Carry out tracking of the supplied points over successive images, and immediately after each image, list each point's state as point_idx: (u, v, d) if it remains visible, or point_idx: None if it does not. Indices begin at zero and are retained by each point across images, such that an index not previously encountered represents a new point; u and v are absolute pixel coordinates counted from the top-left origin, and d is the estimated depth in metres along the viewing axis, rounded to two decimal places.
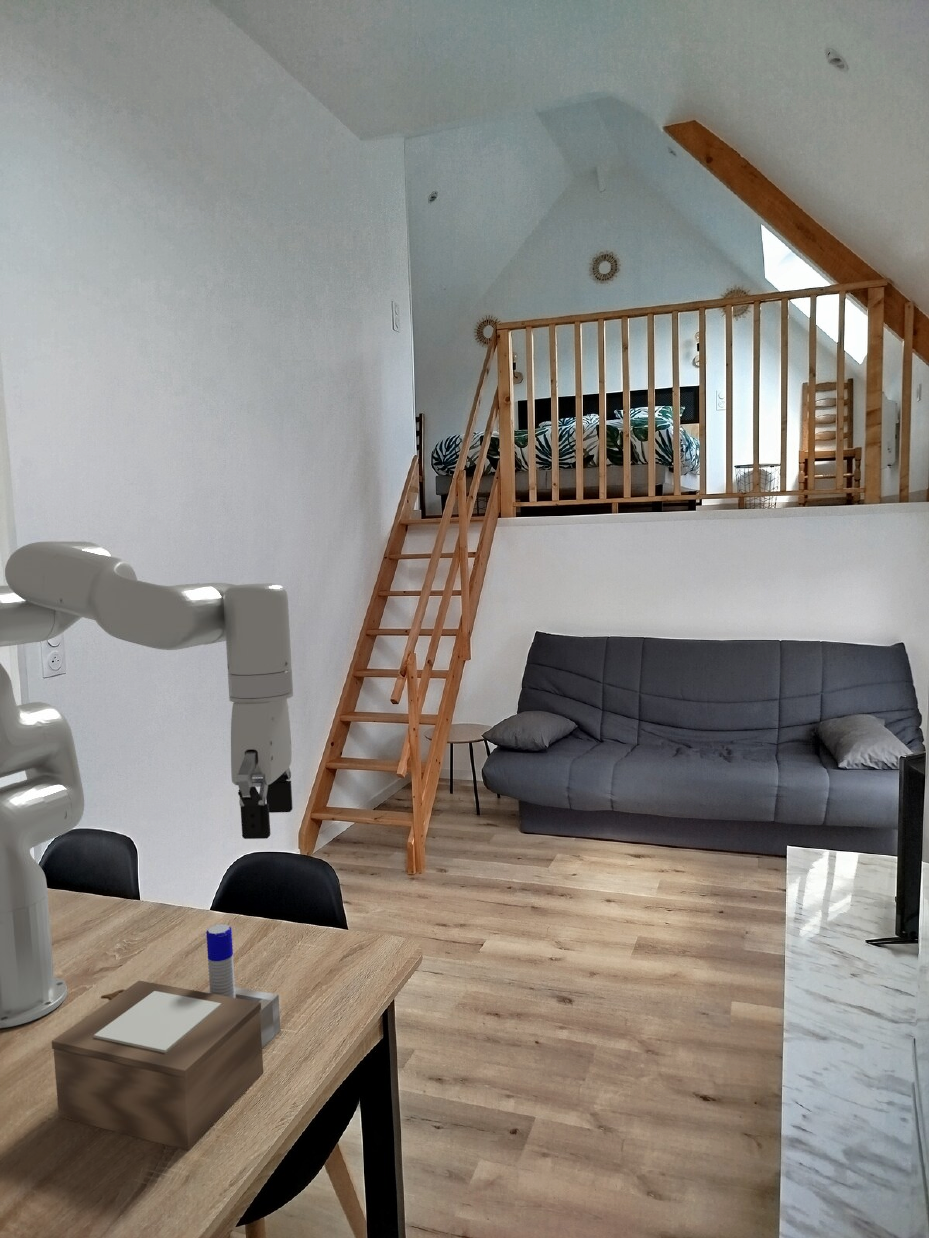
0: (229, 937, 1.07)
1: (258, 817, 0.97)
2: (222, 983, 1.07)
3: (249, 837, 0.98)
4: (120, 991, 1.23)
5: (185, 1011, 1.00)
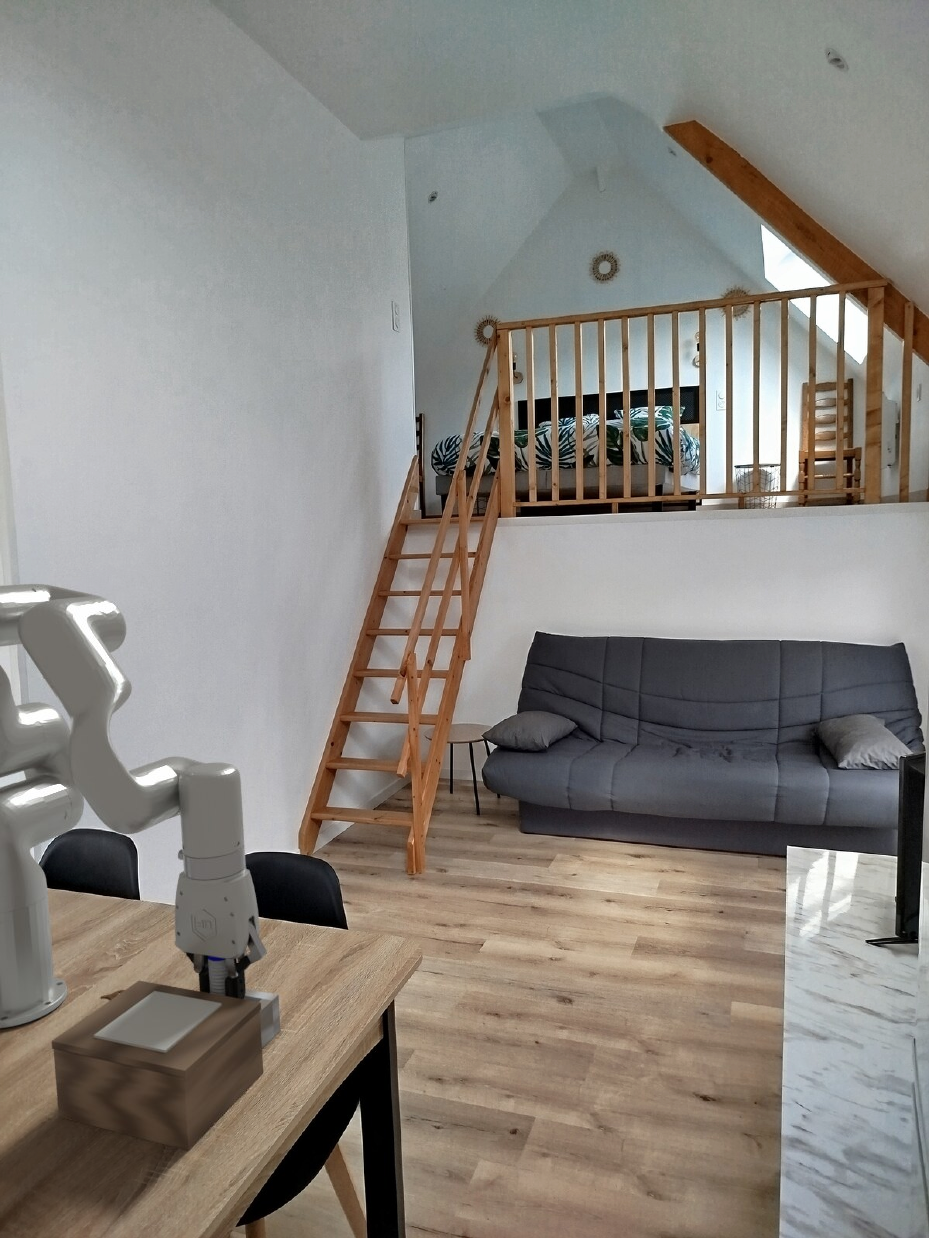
0: None
1: (244, 980, 1.08)
2: (222, 983, 1.07)
3: None
4: (119, 991, 1.23)
5: (185, 1011, 1.00)
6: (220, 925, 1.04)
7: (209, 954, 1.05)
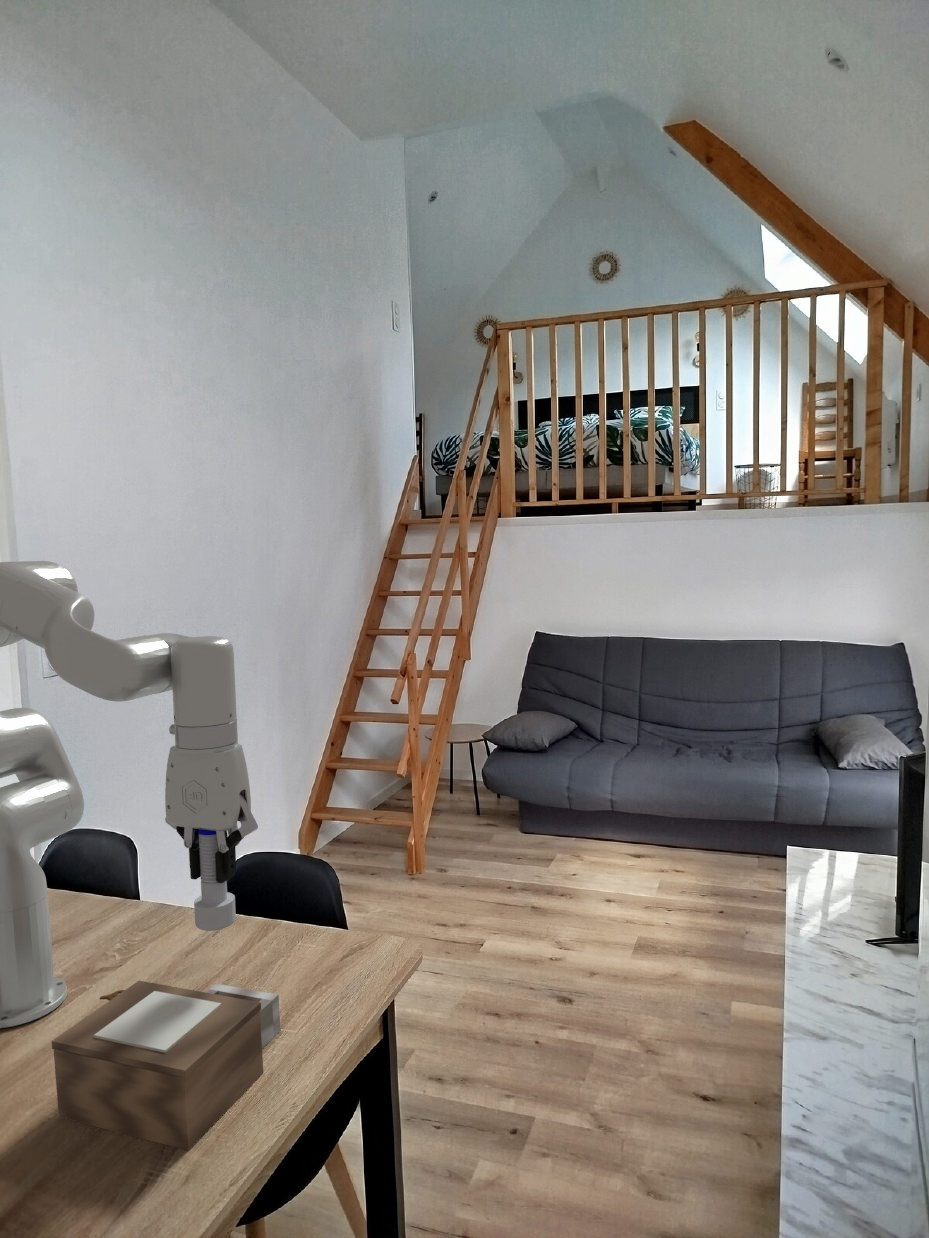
0: None
1: (235, 856, 1.06)
2: (212, 858, 1.05)
3: (224, 880, 1.06)
4: (119, 992, 1.23)
5: (185, 1011, 1.00)
6: (211, 796, 1.03)
7: (199, 826, 1.04)
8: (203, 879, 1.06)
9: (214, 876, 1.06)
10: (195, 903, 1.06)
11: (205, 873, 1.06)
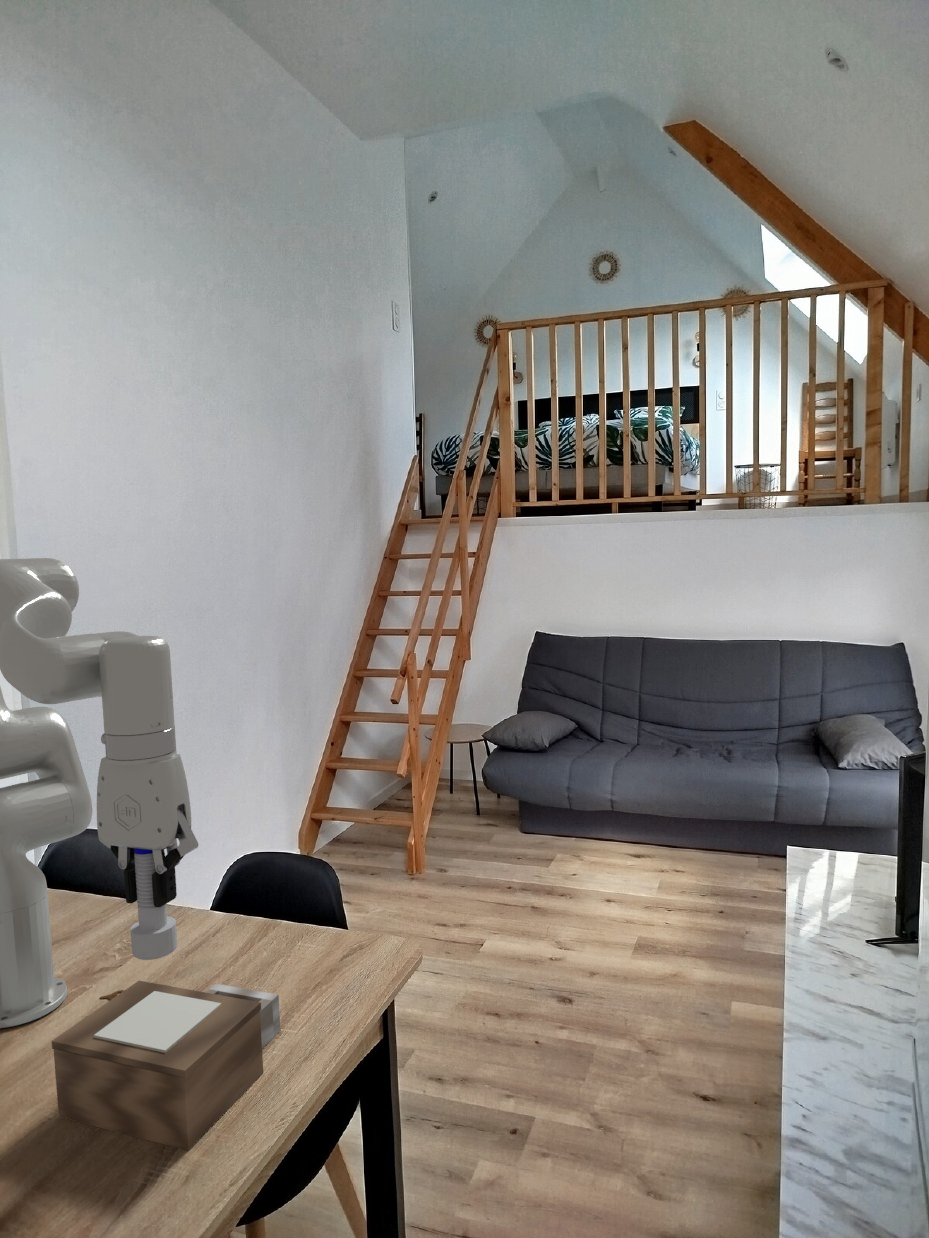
0: None
1: (175, 877, 0.97)
2: (149, 879, 0.96)
3: (163, 904, 0.96)
4: (118, 992, 1.23)
5: (185, 1011, 1.00)
6: (145, 812, 0.93)
7: (133, 845, 0.94)
8: (140, 903, 0.96)
9: (151, 899, 0.96)
10: (131, 929, 0.97)
11: (141, 896, 0.96)
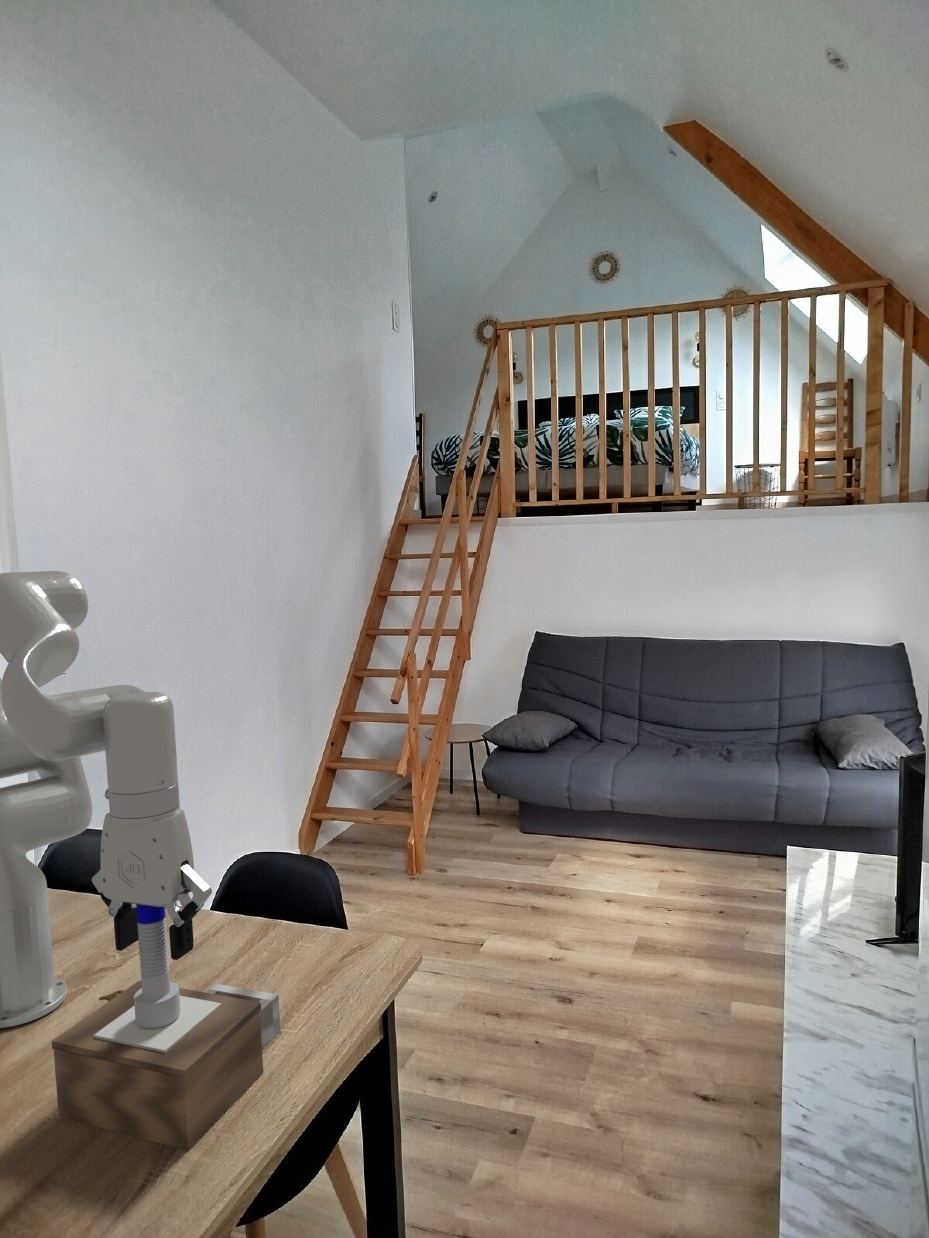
0: None
1: (192, 929, 0.97)
2: (153, 948, 0.97)
3: (180, 956, 0.96)
4: (118, 992, 1.23)
5: (185, 1011, 1.00)
6: (148, 869, 0.94)
7: (137, 902, 0.95)
8: (143, 971, 0.97)
9: (155, 968, 0.97)
10: (135, 997, 0.97)
11: (145, 965, 0.97)
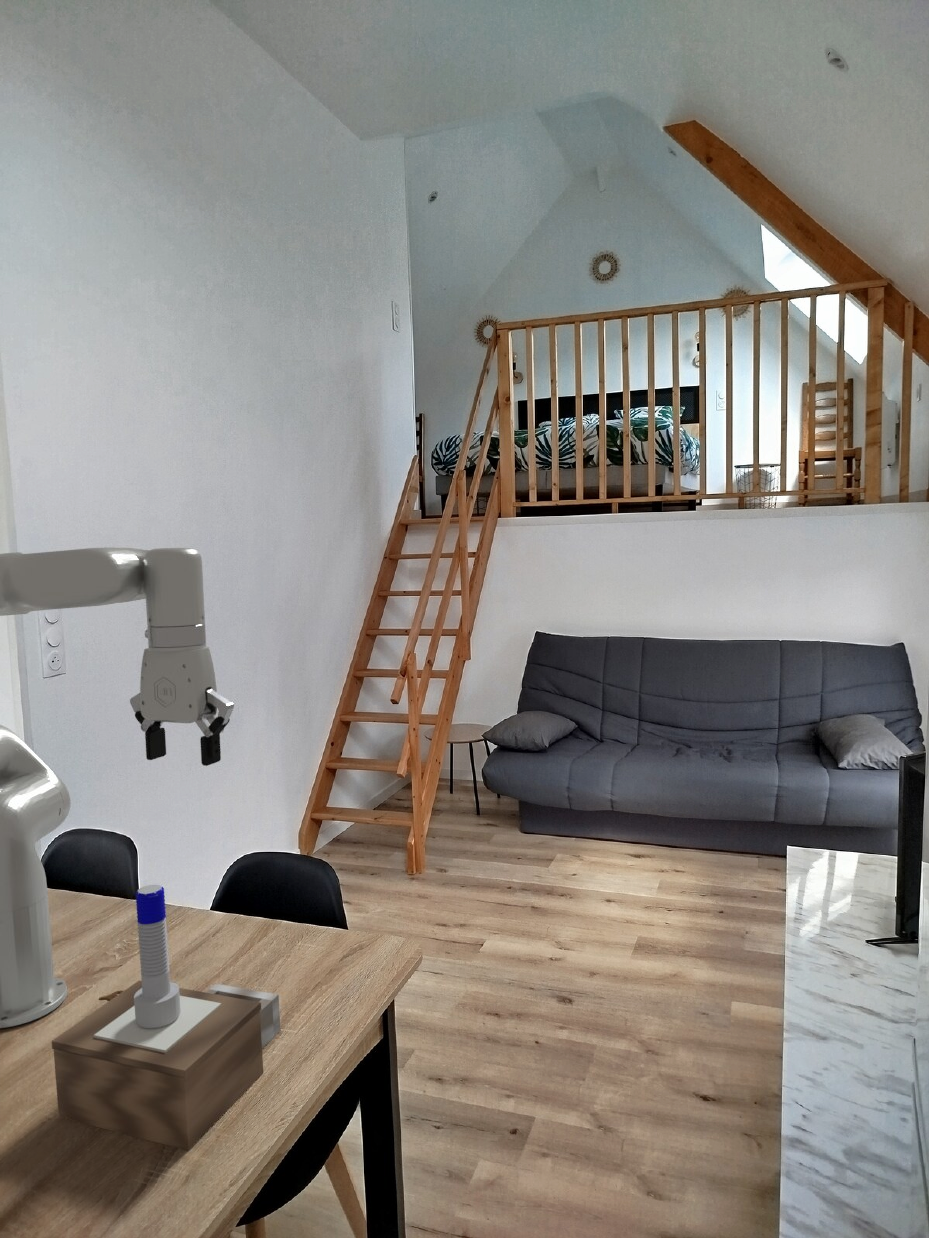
0: (161, 898, 0.97)
1: (219, 742, 1.15)
2: (153, 949, 0.97)
3: (209, 763, 1.14)
4: (117, 992, 1.23)
5: (185, 1011, 1.00)
6: (179, 691, 1.12)
7: (169, 719, 1.14)
8: (143, 971, 0.97)
9: (155, 968, 0.97)
10: (135, 997, 0.97)
11: (145, 965, 0.97)
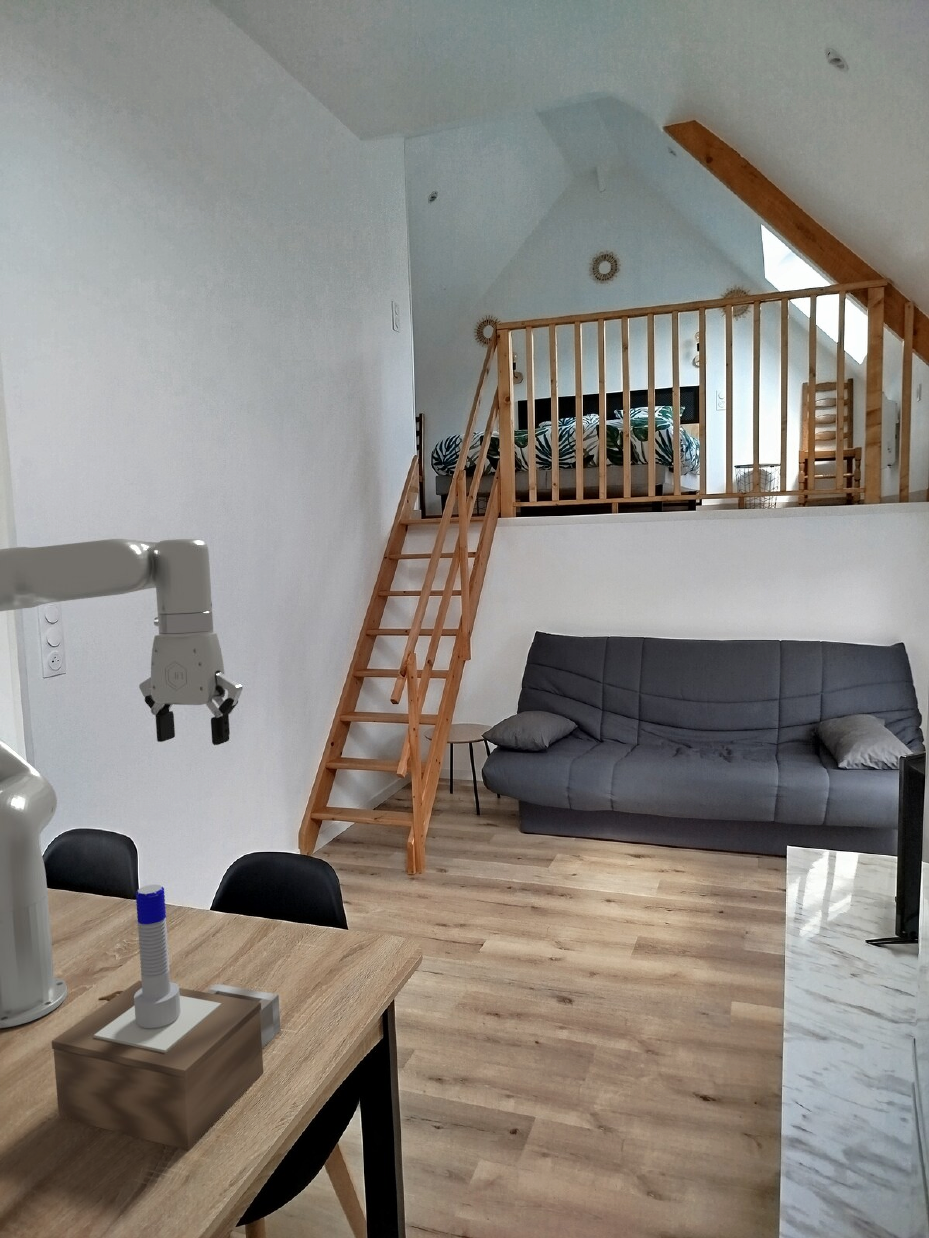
0: (161, 898, 0.97)
1: (228, 723, 1.21)
2: (153, 949, 0.97)
3: (219, 743, 1.20)
4: (117, 992, 1.23)
5: (185, 1011, 1.00)
6: (190, 674, 1.19)
7: (180, 702, 1.20)
8: (143, 971, 0.97)
9: (155, 968, 0.97)
10: (135, 997, 0.97)
11: (145, 965, 0.97)
